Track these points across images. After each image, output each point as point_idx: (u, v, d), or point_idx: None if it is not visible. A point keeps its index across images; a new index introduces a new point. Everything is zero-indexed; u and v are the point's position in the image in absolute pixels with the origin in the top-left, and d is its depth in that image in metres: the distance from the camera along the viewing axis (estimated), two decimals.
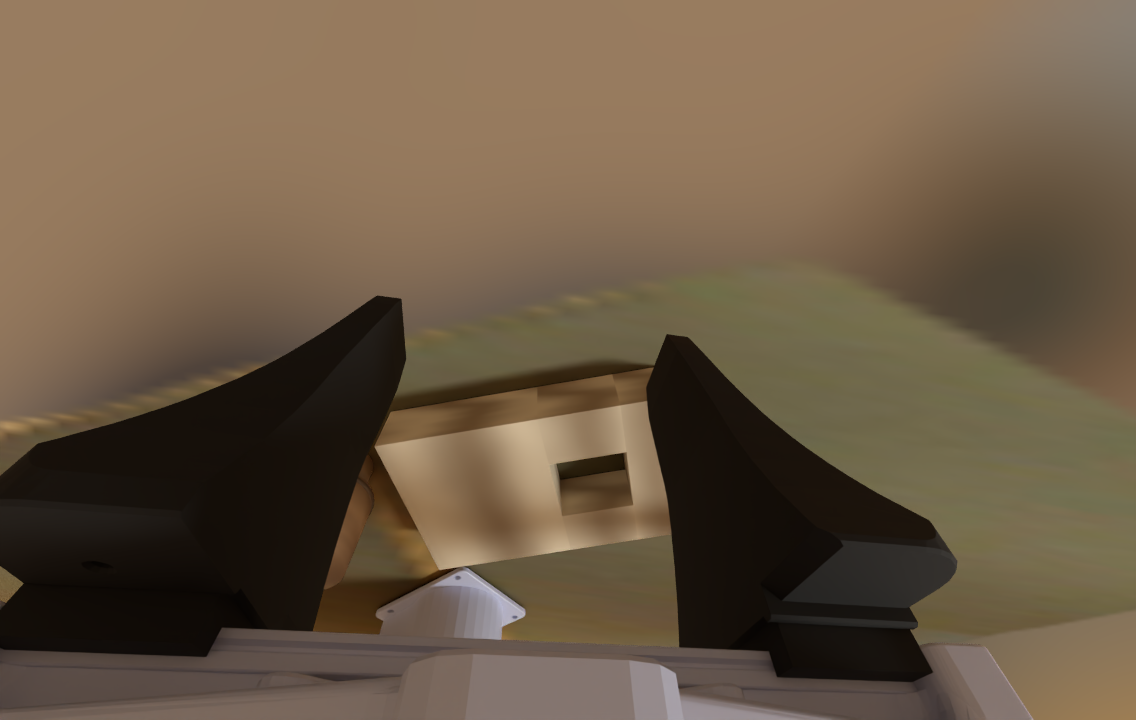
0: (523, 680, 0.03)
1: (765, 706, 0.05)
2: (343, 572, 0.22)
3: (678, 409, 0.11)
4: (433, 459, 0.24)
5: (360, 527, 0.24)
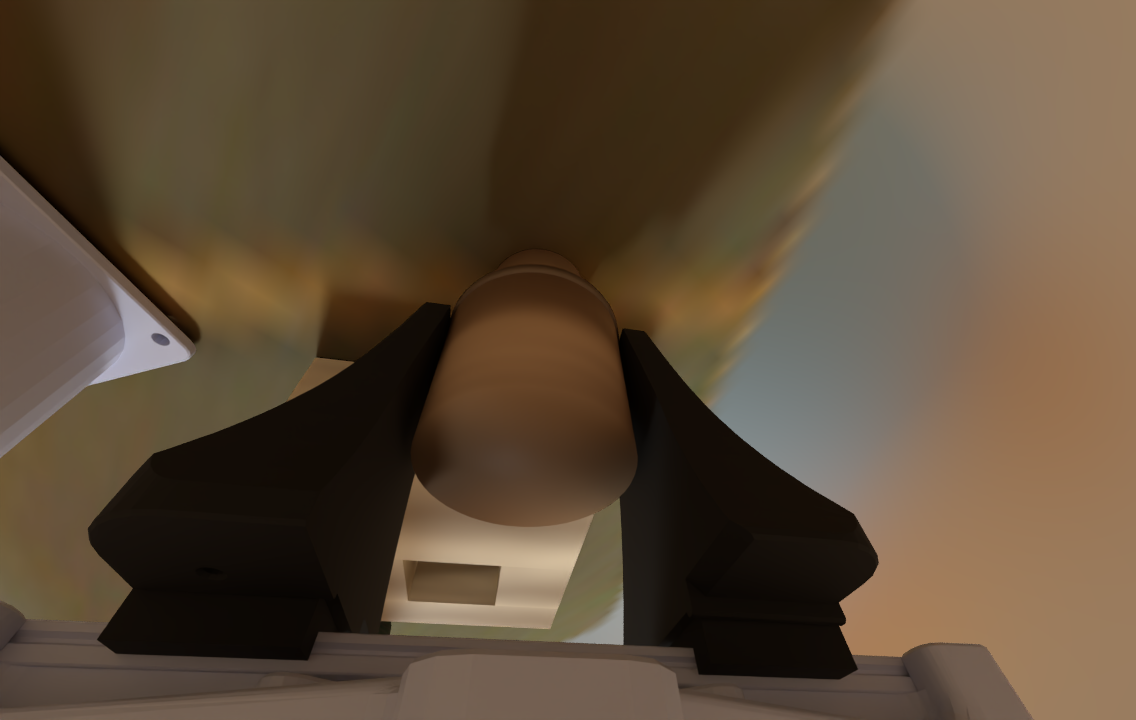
0: (523, 679, 0.03)
1: (765, 705, 0.05)
2: (466, 513, 0.10)
3: (629, 403, 0.11)
4: None
5: None
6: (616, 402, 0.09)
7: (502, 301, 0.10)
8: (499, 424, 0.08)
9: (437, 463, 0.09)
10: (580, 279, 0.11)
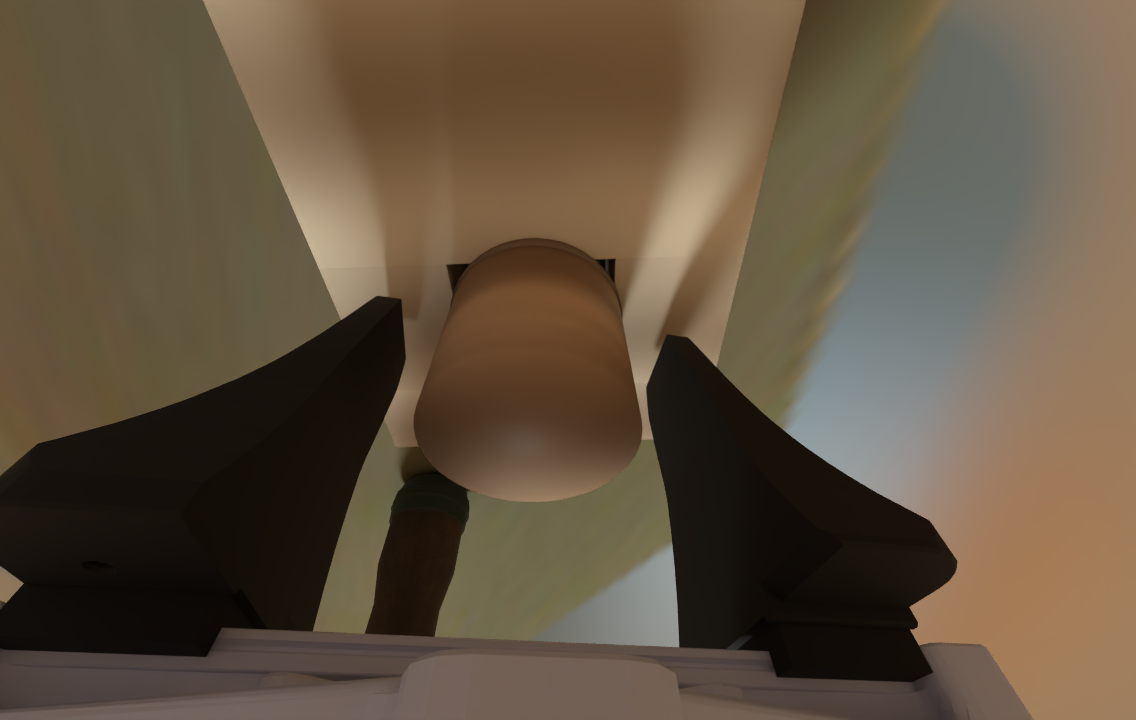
0: (523, 680, 0.03)
1: (765, 706, 0.05)
2: (466, 485, 0.10)
3: (678, 409, 0.11)
4: None
5: None
6: (623, 372, 0.09)
7: (509, 271, 0.10)
8: (505, 390, 0.08)
9: (439, 430, 0.09)
10: (587, 255, 0.11)
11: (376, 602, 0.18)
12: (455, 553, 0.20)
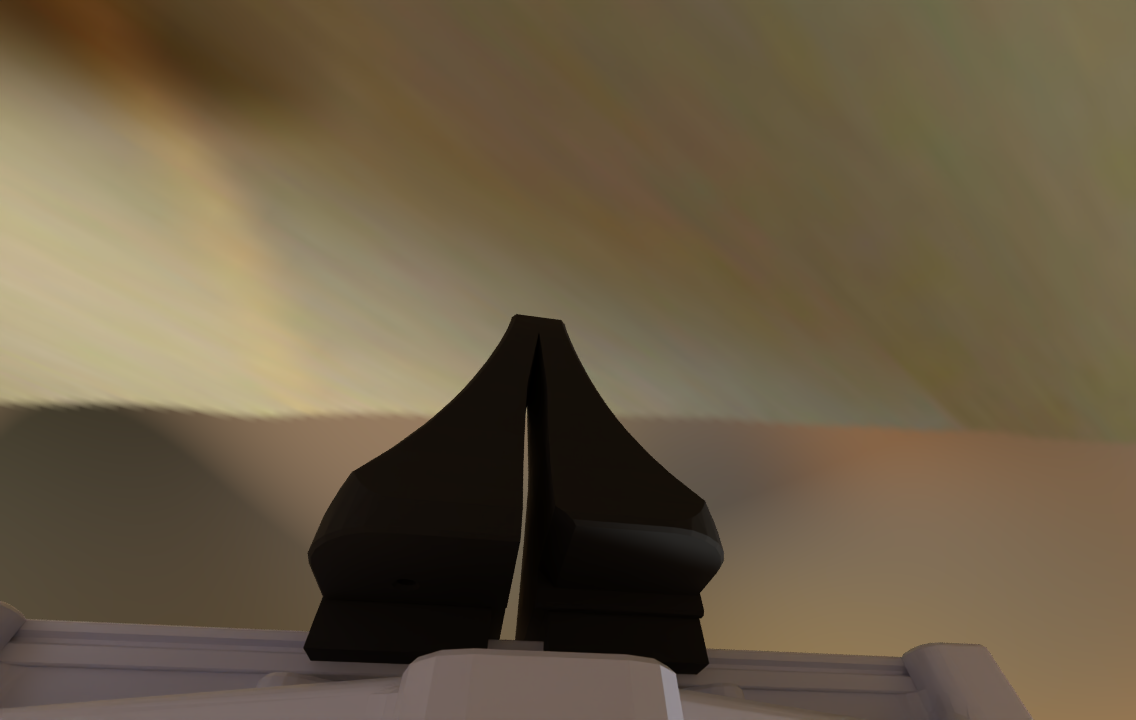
0: (523, 679, 0.03)
1: (765, 706, 0.05)
2: None
3: (536, 393, 0.10)
4: None
5: None
6: None
7: None
8: None
9: None
10: None
11: None
12: None
